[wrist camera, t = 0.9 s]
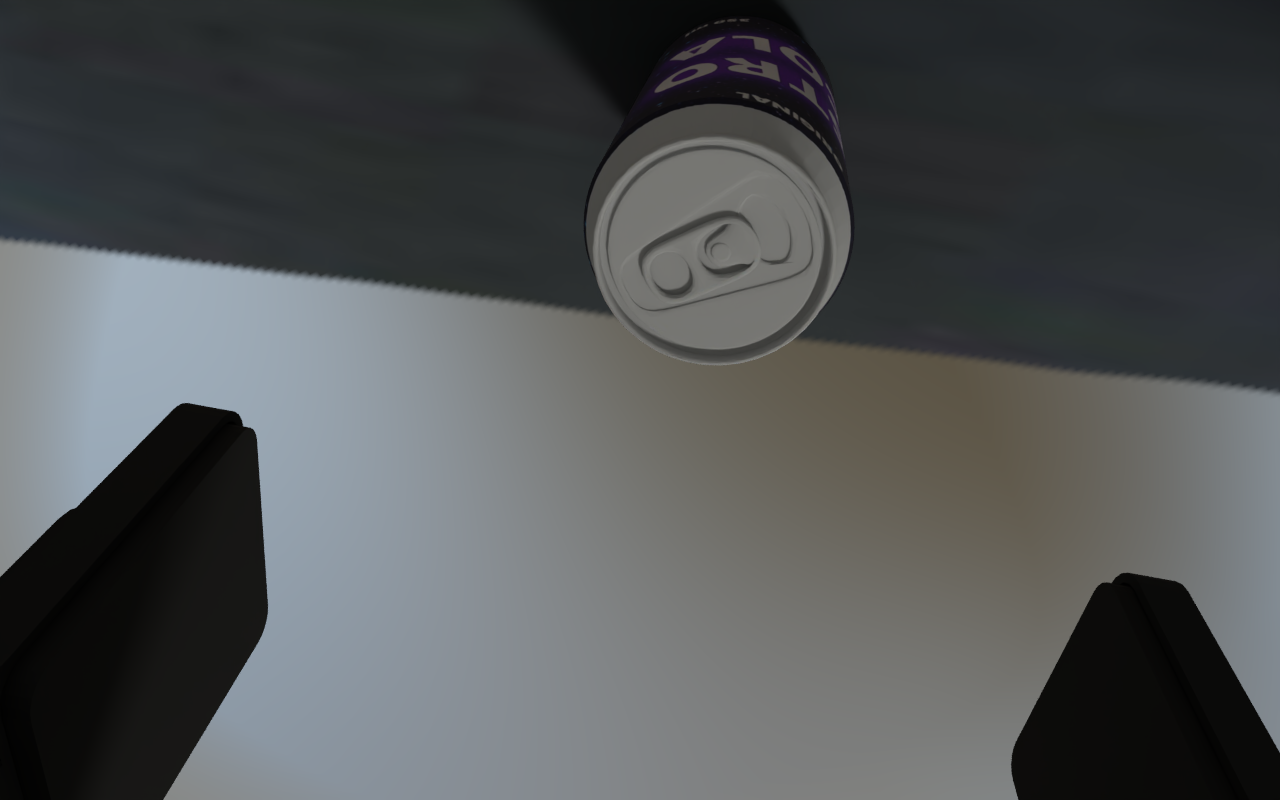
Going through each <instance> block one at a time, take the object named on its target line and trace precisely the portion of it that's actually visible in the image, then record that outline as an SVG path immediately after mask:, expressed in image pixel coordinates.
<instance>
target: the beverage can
mask: <svg viewBox="0 0 1280 800" xmlns="http://www.w3.org/2000/svg"><path fill="white" fill-rule="evenodd" d="M584 238H585V245H586V250H587V254H588V258H589V262H590V265H591V268H592V270H593V272H594V275H595V277H596V279H597V283H598V285H599V288H600V290H601V293H602V295H603V297H604V299H605V301H606V303H607V304H608V306H609V308H610V309H611V311H612V312H613V314H614V315H615V317H616V318H617V319H618V320H619V321H620V322H621V324H622V325H623V326H624V327H625V328H626V329H627V330H628V331H629V332H631V333H632V334H633V335H634V336H635V337H636V338H637V339H639V340H640V341H641V342H643V343H645V344H646V345H648V346H649V347H651V348H652V349H654V350H656V351H658V352H660V353H662V354H665V355H667V356H669V357H672V358H675V359H678V360H682V361H685V362H689V363H696V364H702V365H729V364H737V363H743V362H746V361H751V360H754V359H757V358H760V357H763V356H765V355H767V354H770V353H772V352H774V351H776V350H778V349H779V348H781V347H783V346H784V345H786V344H788V343H789V342H791V341H792V340H793V339H794V338H795V337H797V336H798V335H799V334H800V333H801V332H802V331H804V330H805V329H806V327H807V326H808V325H809V324H810V323H811V322H812V321H813V319H814V318H815V317H816V316H817V315H818V314H819V313H820V312H821V311H822V309H823V308H824V307H825V306H826V305H827V304H828V302H829V301H830V299H831V298H832V297H833V295H834V294H835V292H836V290H837V289H838V287H839V285H840V283H841V281H842V279H843V277H844V275H845V272H846V270H847V267H848V264H849V261H850V257H851V253H852V248H853V241H854V213H853V205H852V200H851V194H850V188H849V182H848V176H847V170H846V164H845V159H844V153H843V147H842V141H841V135H840V129H839V123H838V118H837V112H836V106H835V100H834V94H833V89H832V85H831V82H830V79H829V76H828V74H827V71H826V69H825V67H824V65H823V64H822V62H821V60H820V59H819V57H818V56H817V54H816V53H815V52H814V50H813V49H812V48H811V47H810V46H809V45H808V44H807V43H806V42H805V41H804V40H803V39H802V38H801V37H800V36H798V35H797V34H796V33H794V32H793V31H791V30H789V29H788V28H786V27H784V26H782V25H780V24H778V23H775V22H773V21H770V20H767V19H763V18H759V17H752V16H728V17H722V18H717V19H714V20H710V21H708V22H705V23H702V24H700V25H698V26H696V27H694V28H692V29H691V30H689V31H687V32H686V33H684V34H683V35H682V36H680V37H679V38H678V39H677V40H675V41H674V42H673V43H672V44H671V45H670V46H669V47H668V49H667V50H666V51H665V52H664V53H663V55H662V56H661V57H660V59H659V60H658V62H657V63H656V65H655V67H654V69H653V70H652V72H651V74H650V76H649V77H648V79H647V81H646V83H645V85H644V86H643V88H642V90H641V92H640V93H639V95H638V97H637V99H636V101H635V102H634V104H633V106H632V108H631V109H630V111H629V113H628V115H627V117H626V118H625V120H624V122H623V124H622V125H621V127H620V129H619V131H618V133H617V134H616V136H615V138H614V140H613V141H612V143H611V145H610V147H609V149H608V150H607V152H606V154H605V156H604V158H603V159H602V161H601V163H600V165H599V167H598V168H597V170H596V172H595V175H594V177H593V179H592V182H591V185H590V188H589V191H588V195H587V199H586V205H585V212H584Z"/></svg>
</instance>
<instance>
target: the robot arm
mask: <svg viewBox="0 0 1280 800" xmlns="http://www.w3.org/2000/svg"><path fill="white" fill-rule="evenodd" d="M261 510H262V509H261V494H260V480H259V464H258V449H257V438H256V434H255V432H254V430H253V429H251V428H248V427H243V424H242V420H241V418H240V416H239V414H237V413H236V412H233V411H228V410H222V409H217V408H212V407H206V406H201V405H195V404H190V403H183V404H180V405H179V406H177V407H176V408H175V409H173V410H172V411H171V412H170V414H169V415H168V416H167V417H165V419H164V420H163V421H162V422H161V423H160V424H159V425H158V426H157V427H156V428H155V429H154V430H153V431H152V432H151V433H150V434H149V435H148V436H147V437H146V438H145V439H144V440H143V441H142V442H141V443H140V444H139V445H138V446H137V447H136V448H135V449H134V450H133V451H132V452H131V453H130V454H129V455H128V456H127V457H126V458H125V459H124V460H123V461H122V462H121V463H120V464H119V465H118V466H117V467H116V468H115V469H114V470H113V471H112V472H111V473H110V474H109V475H108V476H107V477H106V478H105V479H104V480H103V481H102V482H101V483H100V484H99V485H98V486H97V487H96V488H95V489H94V490H93V491H92V492H91V493H90V494H89V496H87V497H86V498H85V499H84V500H83V501H82V502H81V503H80V505H78V507H77V508H75V509H71V510H69V511H68V512H67V513H66V514H64V515H63V516H62V517H60V518H59V519H58V520H57V521H56V522H55V523H54V524H53V525H52V526H51V527H50V528H49V529H48V530H47V531H46V532H45V533H44V534H43V535H42V536H41V537H40V538H39V539H38V540H37V541H36V542H35V543H34V544H33V545H32V546H31V547H30V548H29V549H28V550H27V551H26V552H25V553H24V554H23V555H22V556H21V557H20V558H19V559H18V560H17V561H16V562H15V563H14V564H13V565H12V566H11V567H10V568H9V569H8V570H7V571H6V572H5V573H4V574H3V575H2V576H1V577H0V800H163V799H164V797H165V796H166V794H167V792H168V791H169V789H170V788H171V786H172V784H173V783H174V781H175V779H176V778H177V776H178V774H179V773H180V771H181V769H182V768H183V766H184V764H185V763H186V761H187V759H188V758H189V756H190V754H191V753H192V751H193V749H194V748H195V746H196V744H197V743H198V741H199V739H200V738H201V736H202V735H203V733H204V731H205V730H206V728H207V726H208V725H209V723H210V721H211V720H212V717H213V716H214V715H215V713H216V711H217V710H218V708H219V706H220V705H221V703H222V701H223V700H224V698H225V696H226V695H227V693H228V692H229V690H230V688H231V687H232V685H233V683H234V681H235V680H236V678H237V677H238V675H239V673H240V672H241V670H242V668H243V667H244V665H245V663H246V662H247V660H248V658H249V657H250V655H251V653H252V652H253V650H254V648H255V647H256V645H257V643H258V642H259V640H260V638H261V636H262V633H263V631H264V628H265V624H266V620H267V614H268V599H267V584H266V569H265V555H264V540H263V526H262V511H261ZM1011 768H1012V777H1013V782H1014V785H1015V789H1016V793H1017V796H1018V800H1280V752H1279V751H1278V749H1277V747H1276V745H1275V744H1274V742H1273V740H1272V738H1271V736H1270V735H1269V733H1268V731H1267V729H1266V728H1265V726H1264V724H1263V722H1262V721H1261V719H1260V717H1259V715H1258V713H1257V712H1256V710H1255V708H1254V706H1253V705H1252V703H1251V701H1250V699H1249V698H1248V696H1247V694H1246V692H1245V691H1244V689H1243V687H1242V686H1241V684H1240V682H1239V680H1238V679H1237V677H1236V675H1235V673H1234V671H1233V670H1232V668H1231V666H1230V664H1229V662H1228V661H1227V659H1226V657H1225V656H1224V654H1223V652H1222V650H1221V648H1220V647H1219V645H1218V643H1217V641H1216V640H1215V638H1214V636H1213V634H1212V633H1211V631H1210V629H1209V627H1208V626H1207V624H1206V622H1205V620H1204V619H1203V617H1202V615H1201V613H1200V611H1199V610H1198V608H1197V606H1196V604H1195V603H1194V601H1193V599H1192V597H1191V596H1190V594H1189V592H1188V591H1187V590H1186V588H1185V587H1184V586H1183V585H1182V584H1180V583H1178V582H1176V581H1171V580H1165V579H1160V578H1154V577H1149V576H1143V575H1138V574H1132V573H1122V574H1120V575H1119V576H1117V577H1116V578H1115V579H1114V581H1113V582H1112V583H1101V584H1100V585H1099V586H1098V587H1097V588H1096V590H1095V591H1094V593H1093V595H1092V596H1091V598H1090V600H1089V602H1088V604H1087V606H1086V608H1085V610H1084V612H1083V614H1082V616H1081V618H1080V620H1079V622H1078V623H1077V625H1076V627H1075V629H1074V631H1073V633H1072V635H1071V637H1070V639H1069V641H1068V643H1067V645H1066V647H1065V649H1064V650H1063V652H1062V654H1061V656H1060V658H1059V660H1058V662H1057V664H1056V666H1055V668H1054V670H1053V672H1052V674H1051V675H1050V678H1049V679H1048V681H1047V683H1046V685H1045V687H1044V689H1043V691H1042V693H1041V695H1040V697H1039V699H1038V701H1037V702H1036V705H1035V706H1034V708H1033V710H1032V712H1031V714H1030V716H1029V718H1028V720H1027V722H1026V724H1025V726H1024V728H1023V730H1022V731H1021V733H1020V735H1019V737H1018V739H1017V741H1016V743H1015V746H1014V749H1013V753H1012V762H1011Z"/></svg>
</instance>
